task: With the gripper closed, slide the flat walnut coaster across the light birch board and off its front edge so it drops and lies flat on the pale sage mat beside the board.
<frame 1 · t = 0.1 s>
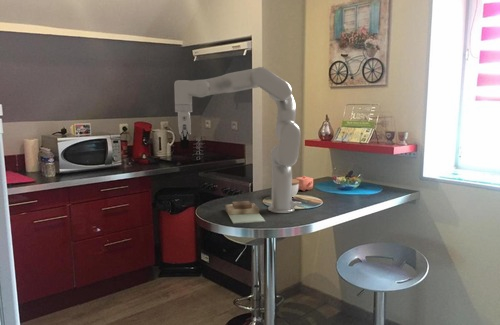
hand: (184, 147, 189), 31 cm above the counter, tool pointing down, fingers open, 9 cm apart
lidded bowl: (286, 197, 229), on the counter
walnut coaster: (242, 206, 199), point 2 cm above the counter, touching birch board
piggy bank: (304, 190, 246), on the counter
birch board: (242, 211, 199), on the counter
sage mat: (246, 218, 188), on the counter
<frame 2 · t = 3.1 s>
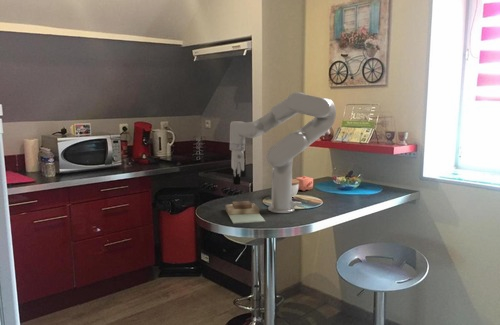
hand: (236, 184, 208), 11 cm above the counter, tool pointing down, fingers closed
nothing on the counter moved.
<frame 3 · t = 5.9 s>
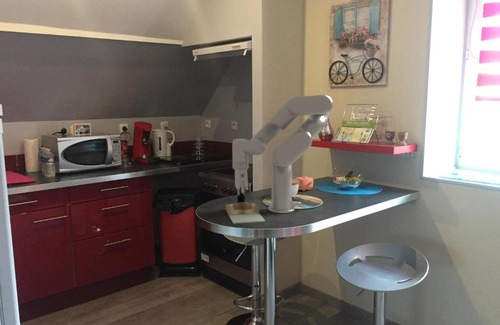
hand: (241, 203, 202), 3 cm above the counter, tool pointing down, fingers closed
walnut coaster: (242, 207, 197), point 3 cm above the counter, touching gripper
everything else where it was.
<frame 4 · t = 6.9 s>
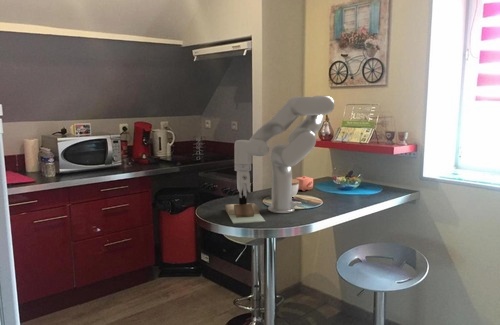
hand: (242, 206, 196), 3 cm above the counter, tool pointing down, fingers closed
walnut coaster: (243, 212, 192), point 2 cm above the counter, tilted 23°, touching sage mat
everything else where it was.
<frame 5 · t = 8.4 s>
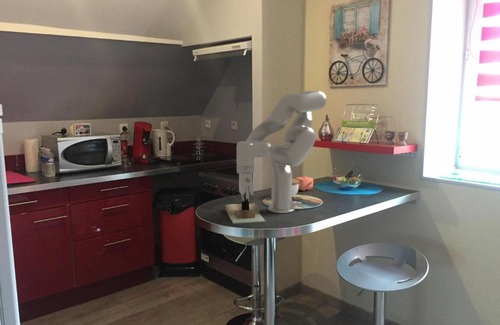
hand: (245, 209, 190), 3 cm above the counter, tool pointing down, fingers closed
walnut coaster: (244, 216, 190), resting on sage mat
everything else where it was.
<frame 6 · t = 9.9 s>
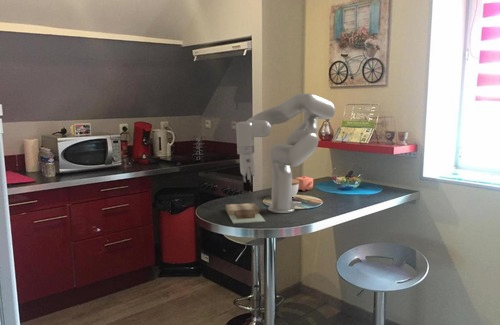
hand: (247, 190, 189), 12 cm above the counter, tool pointing down, fingers closed
nothing on the counter moved.
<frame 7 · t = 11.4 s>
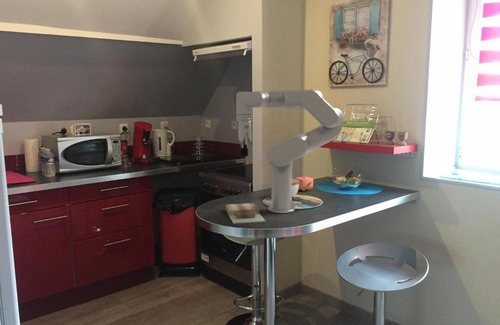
hand: (244, 156, 205), 25 cm above the counter, tool pointing down, fingers closed
nothing on the counter moved.
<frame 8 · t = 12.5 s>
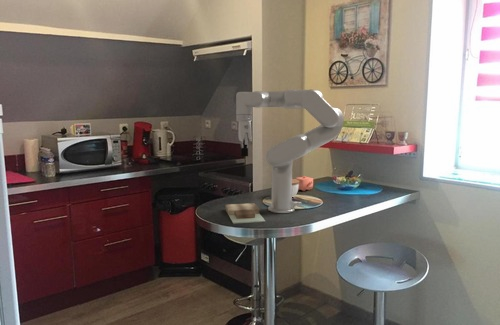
hand: (244, 156, 205), 25 cm above the counter, tool pointing down, fingers closed
nothing on the counter moved.
at the end: walnut coaster inside the target area (3.0 cm from its centre), point 0.5 cm above the counter; walnut coaster tilted 0° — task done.
